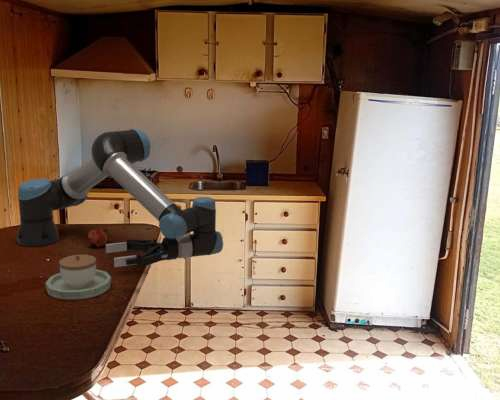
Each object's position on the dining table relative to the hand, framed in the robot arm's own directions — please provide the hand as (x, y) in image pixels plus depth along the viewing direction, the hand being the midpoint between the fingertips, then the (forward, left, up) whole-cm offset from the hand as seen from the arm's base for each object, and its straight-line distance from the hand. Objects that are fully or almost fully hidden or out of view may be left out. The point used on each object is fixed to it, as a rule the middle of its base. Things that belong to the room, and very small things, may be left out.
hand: (109, 255), depth 163 cm
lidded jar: (+4, -9, -8) cm, 13 cm away
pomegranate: (-35, -13, -9) cm, 39 cm away
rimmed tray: (+4, -9, -9) cm, 13 cm away
